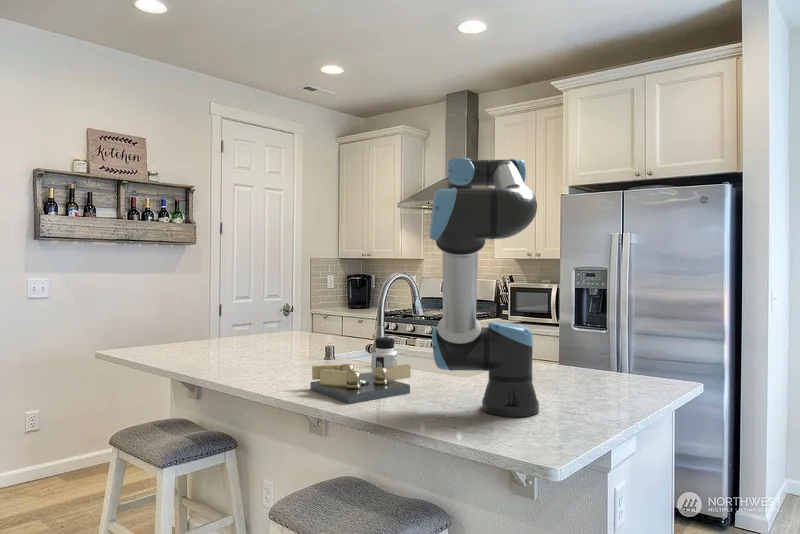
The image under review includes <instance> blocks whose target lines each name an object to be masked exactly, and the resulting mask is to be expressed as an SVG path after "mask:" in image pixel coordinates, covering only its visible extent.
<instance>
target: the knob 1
mask: <svg viewBox="0 0 800 534" xmlns="http://www.w3.org/2000/svg"><path fill="white" fill-rule="evenodd" d="M360 375H361V371H356V370H354V371H341V370H331V369H321V370H320V379H319V381H320V383H324V384H333V385H342V386H346V388H352V389H353V388H360V387H361V384H360Z"/></svg>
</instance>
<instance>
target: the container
mask: <svg viewBox="0 0 800 534" xmlns="http://www.w3.org/2000/svg"><path fill="white" fill-rule="evenodd" d="M397 365H399V363H398V351H397V350H395V339H394V338H393V337H391V336H381V337H376V338H375V352H373V353H371V374H372V375H374V368H378V367H390V366H397Z"/></svg>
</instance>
